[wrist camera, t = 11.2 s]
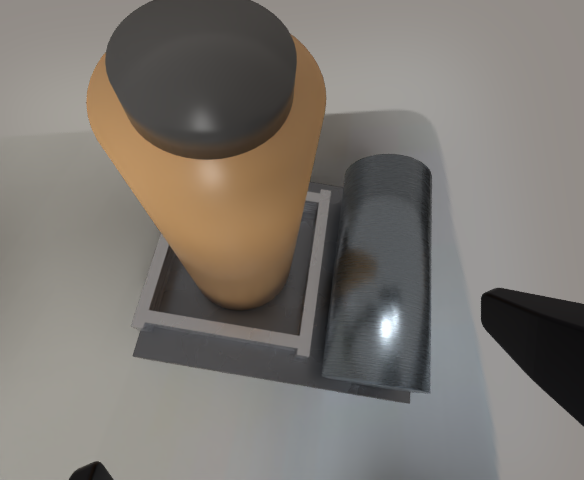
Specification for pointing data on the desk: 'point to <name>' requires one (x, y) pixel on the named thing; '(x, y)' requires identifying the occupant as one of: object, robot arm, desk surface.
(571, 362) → the robot arm
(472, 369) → the desk surface
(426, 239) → the motor mount
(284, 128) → the bottle
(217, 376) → the desk surface
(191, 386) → the desk surface
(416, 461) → the desk surface
